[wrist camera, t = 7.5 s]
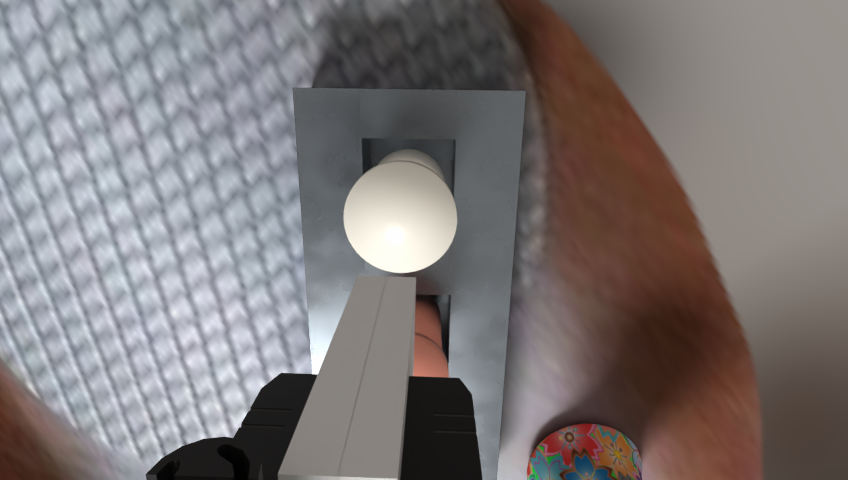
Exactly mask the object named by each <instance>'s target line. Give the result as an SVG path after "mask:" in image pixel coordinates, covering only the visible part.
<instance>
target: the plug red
mask: <svg viewBox="0 0 848 480" xmlns="http://www.w3.org/2000/svg"><path fill="white" fill-rule="evenodd" d="M413 376H422V377H449V371H448V362H447V359H446V356H445V354H444V352H443V351H442V338H441V313H440V309H439V307H438V305H437V303H436V301H435V300H434V299H433V298H432V297H431V296H430V295H416V300H415V338H414V372H413Z"/></svg>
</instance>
